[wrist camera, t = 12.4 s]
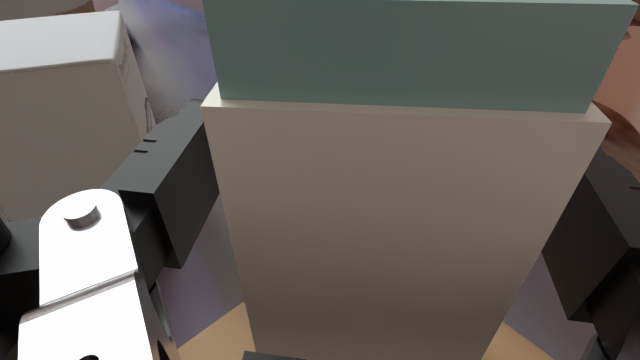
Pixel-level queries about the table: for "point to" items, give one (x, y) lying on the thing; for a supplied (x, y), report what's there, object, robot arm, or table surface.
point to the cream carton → (399, 161)
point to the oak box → (236, 337)
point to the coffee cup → (42, 8)
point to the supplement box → (66, 107)
